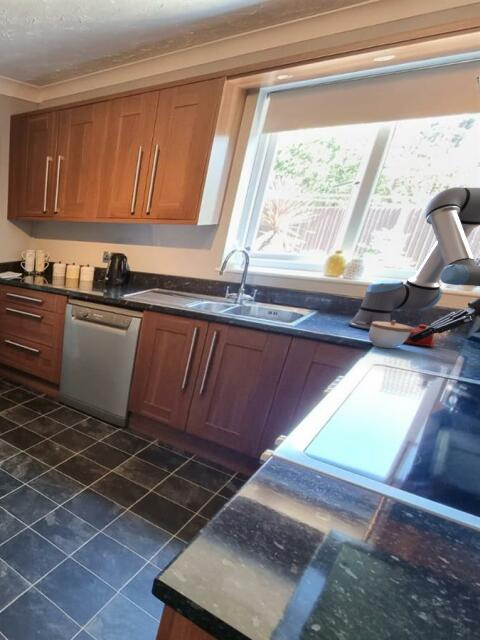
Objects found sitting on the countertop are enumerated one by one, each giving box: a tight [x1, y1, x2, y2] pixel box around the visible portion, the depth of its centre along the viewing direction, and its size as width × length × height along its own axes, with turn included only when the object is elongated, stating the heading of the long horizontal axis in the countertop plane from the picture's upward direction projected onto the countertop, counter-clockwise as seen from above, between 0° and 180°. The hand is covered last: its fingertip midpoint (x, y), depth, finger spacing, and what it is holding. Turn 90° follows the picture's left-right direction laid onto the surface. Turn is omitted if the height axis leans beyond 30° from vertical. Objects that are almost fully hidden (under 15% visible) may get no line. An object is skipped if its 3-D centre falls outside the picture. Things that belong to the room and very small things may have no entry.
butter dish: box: [403, 324, 436, 348], centre depth 184 cm, size 12×12×8 cm
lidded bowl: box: [368, 319, 414, 349], centre depth 177 cm, size 13×13×11 cm
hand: (410, 339), depth 174 cm, fingers closed
